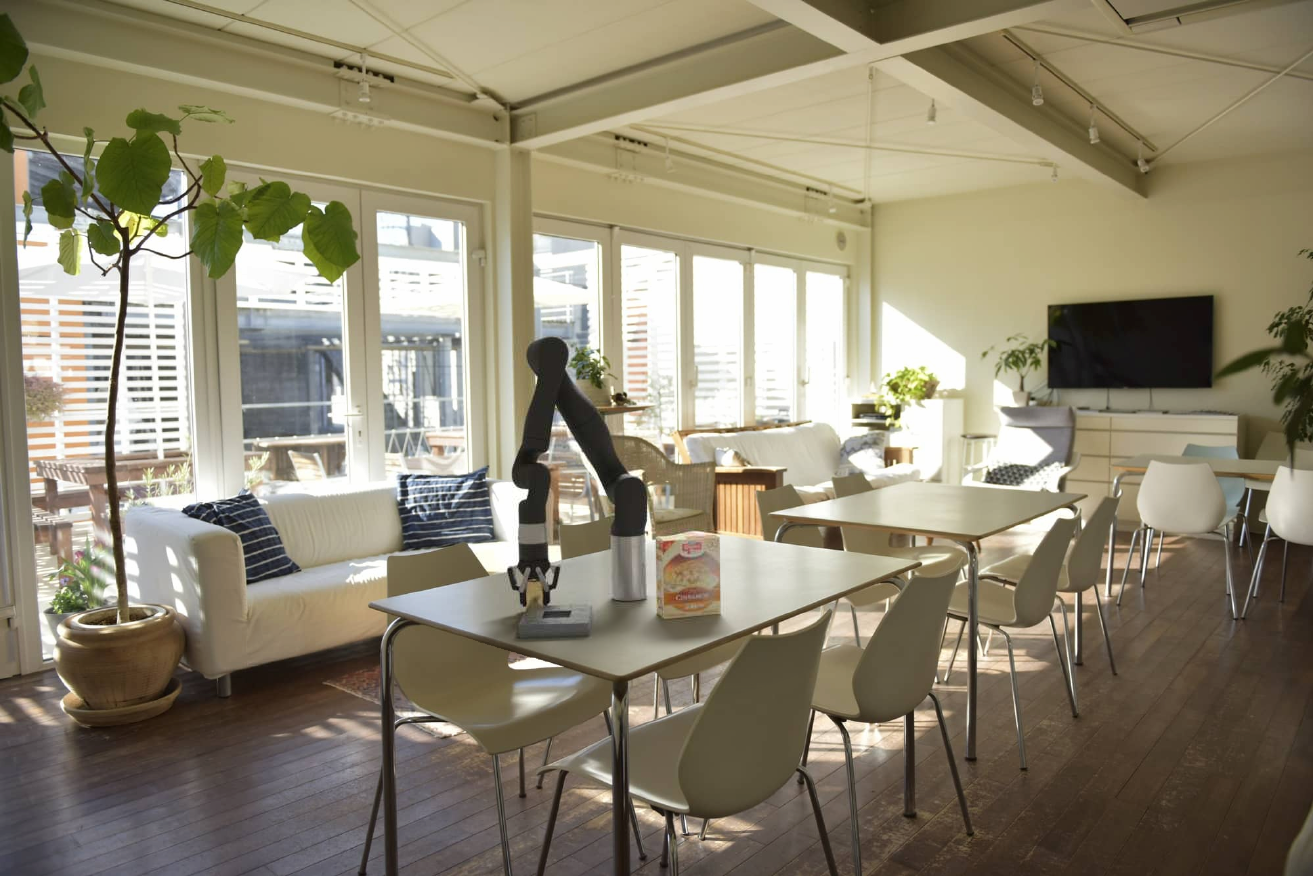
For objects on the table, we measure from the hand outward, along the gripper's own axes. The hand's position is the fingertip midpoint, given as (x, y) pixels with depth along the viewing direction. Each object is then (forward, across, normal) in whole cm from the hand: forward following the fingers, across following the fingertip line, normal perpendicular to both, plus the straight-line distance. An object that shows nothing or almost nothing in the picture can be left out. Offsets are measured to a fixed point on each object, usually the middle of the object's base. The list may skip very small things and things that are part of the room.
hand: (535, 605), depth 236 cm
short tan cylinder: (+1, 0, 0) cm, 1 cm away
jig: (+1, -7, +16) cm, 18 cm away
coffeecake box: (+2, -39, +7) cm, 40 cm away
